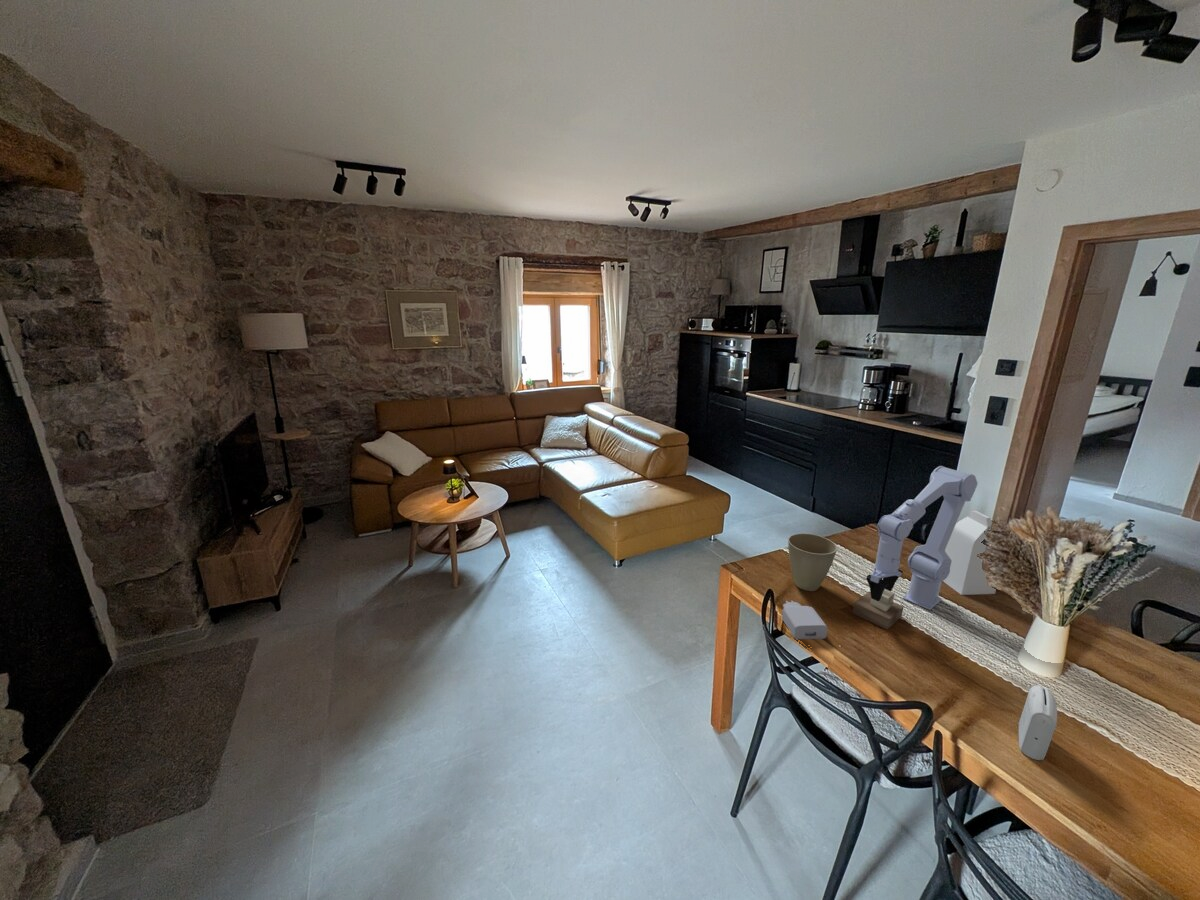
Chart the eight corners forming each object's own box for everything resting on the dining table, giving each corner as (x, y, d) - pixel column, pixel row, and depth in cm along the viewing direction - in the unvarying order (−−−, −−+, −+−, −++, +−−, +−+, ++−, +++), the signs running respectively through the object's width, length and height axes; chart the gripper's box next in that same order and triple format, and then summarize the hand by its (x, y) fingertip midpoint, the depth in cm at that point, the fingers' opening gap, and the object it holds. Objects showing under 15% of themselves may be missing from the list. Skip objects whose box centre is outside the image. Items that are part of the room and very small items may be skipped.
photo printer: (1045, 765, 95) (1062, 717, 91) (1017, 753, 97) (1032, 706, 94) (1042, 731, 102) (1057, 686, 99) (1017, 721, 105) (1030, 676, 101)
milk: (934, 574, 163) (949, 507, 156) (966, 574, 163) (982, 506, 156) (961, 594, 151) (979, 522, 144) (995, 593, 152) (1014, 521, 144)
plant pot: (840, 595, 152) (847, 552, 147) (798, 599, 150) (804, 555, 145) (814, 571, 166) (819, 531, 161) (775, 575, 164) (779, 534, 159)
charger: (802, 607, 146) (825, 639, 132) (773, 607, 146) (793, 639, 132) (804, 594, 145) (827, 625, 131) (775, 594, 145) (795, 625, 130)
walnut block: (867, 602, 149) (869, 591, 148) (901, 617, 141) (903, 606, 140) (852, 613, 143) (853, 602, 142) (886, 630, 135) (888, 619, 134)
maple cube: (876, 599, 144) (878, 586, 142) (892, 605, 140) (894, 593, 139) (869, 604, 141) (872, 591, 140) (885, 611, 138) (888, 598, 136)
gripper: (892, 568, 129) (884, 610, 133) (914, 552, 137) (905, 592, 141) (866, 558, 134) (859, 598, 138) (888, 543, 142) (881, 582, 146)
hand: (881, 594), depth 140 cm, fingers open, 7 cm apart
